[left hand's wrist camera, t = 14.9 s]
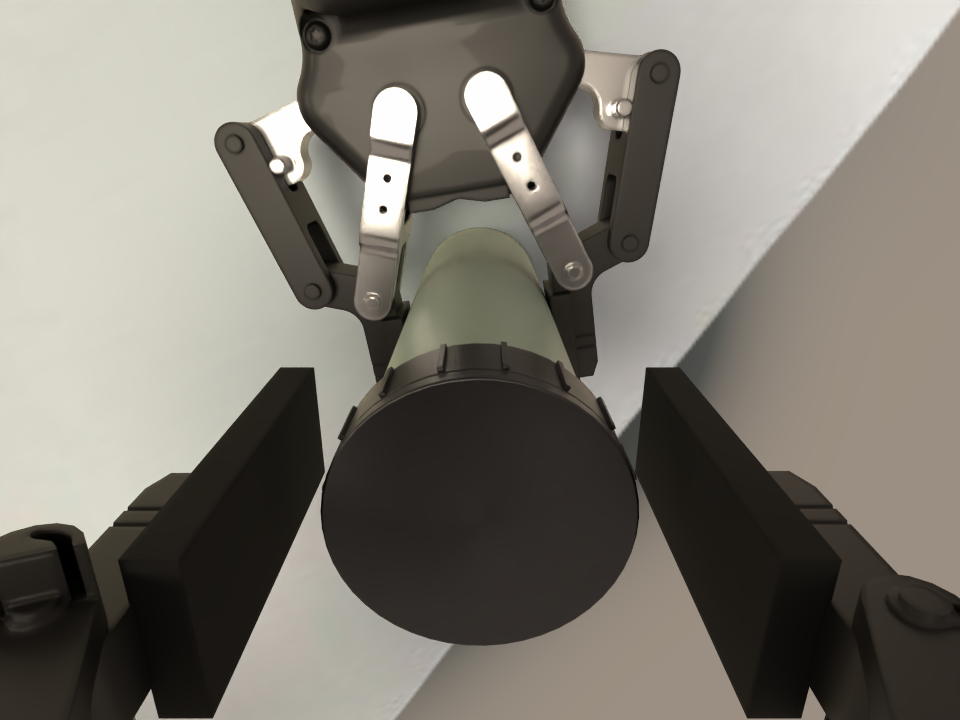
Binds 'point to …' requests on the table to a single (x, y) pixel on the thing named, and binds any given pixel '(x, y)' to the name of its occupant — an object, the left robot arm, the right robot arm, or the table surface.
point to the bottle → (480, 300)
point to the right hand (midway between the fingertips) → (492, 395)
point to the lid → (479, 496)
